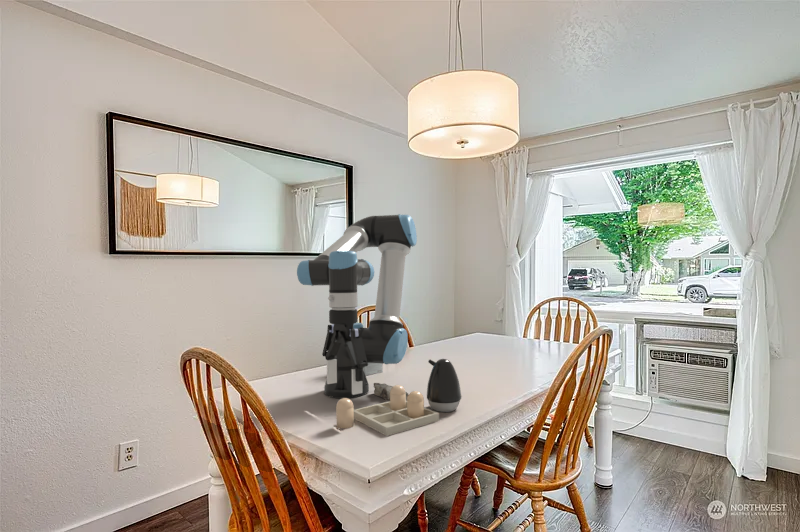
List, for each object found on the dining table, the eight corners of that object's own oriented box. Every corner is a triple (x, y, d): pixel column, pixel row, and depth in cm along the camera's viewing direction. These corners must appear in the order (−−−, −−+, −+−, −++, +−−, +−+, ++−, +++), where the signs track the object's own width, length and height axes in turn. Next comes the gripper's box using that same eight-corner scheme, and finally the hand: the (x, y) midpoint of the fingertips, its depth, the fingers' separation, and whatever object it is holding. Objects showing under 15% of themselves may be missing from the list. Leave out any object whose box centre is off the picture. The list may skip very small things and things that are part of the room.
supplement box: (351, 372, 182) (350, 330, 182) (368, 368, 188) (368, 328, 188) (365, 376, 174) (364, 333, 174) (383, 372, 181) (382, 330, 181)
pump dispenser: (438, 402, 139) (438, 354, 139) (467, 408, 133) (467, 358, 133) (419, 411, 132) (418, 359, 132) (449, 418, 125) (448, 364, 125)
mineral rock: (414, 402, 140) (414, 388, 140) (392, 407, 136) (392, 392, 136) (391, 391, 153) (391, 379, 153) (370, 395, 149) (370, 382, 149)
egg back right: (404, 419, 123) (403, 391, 123) (417, 415, 126) (416, 388, 126) (414, 423, 119) (414, 394, 119) (427, 420, 122) (427, 391, 122)
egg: (333, 426, 120) (332, 397, 120) (348, 423, 122) (347, 394, 122) (341, 431, 116) (341, 401, 116) (357, 427, 119) (356, 398, 119)
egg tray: (351, 419, 125) (351, 410, 125) (401, 406, 136) (401, 398, 136) (387, 437, 111) (386, 427, 111) (439, 422, 122) (439, 413, 122)
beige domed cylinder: (387, 411, 130) (386, 384, 130) (399, 408, 133) (399, 382, 133) (396, 415, 126) (395, 388, 126) (409, 412, 129) (408, 385, 129)
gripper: (310, 306, 127) (310, 381, 127) (355, 312, 107) (355, 401, 106) (333, 305, 131) (334, 377, 131) (381, 310, 111) (381, 395, 111)
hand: (344, 388), depth 119 cm, fingers open, 13 cm apart
